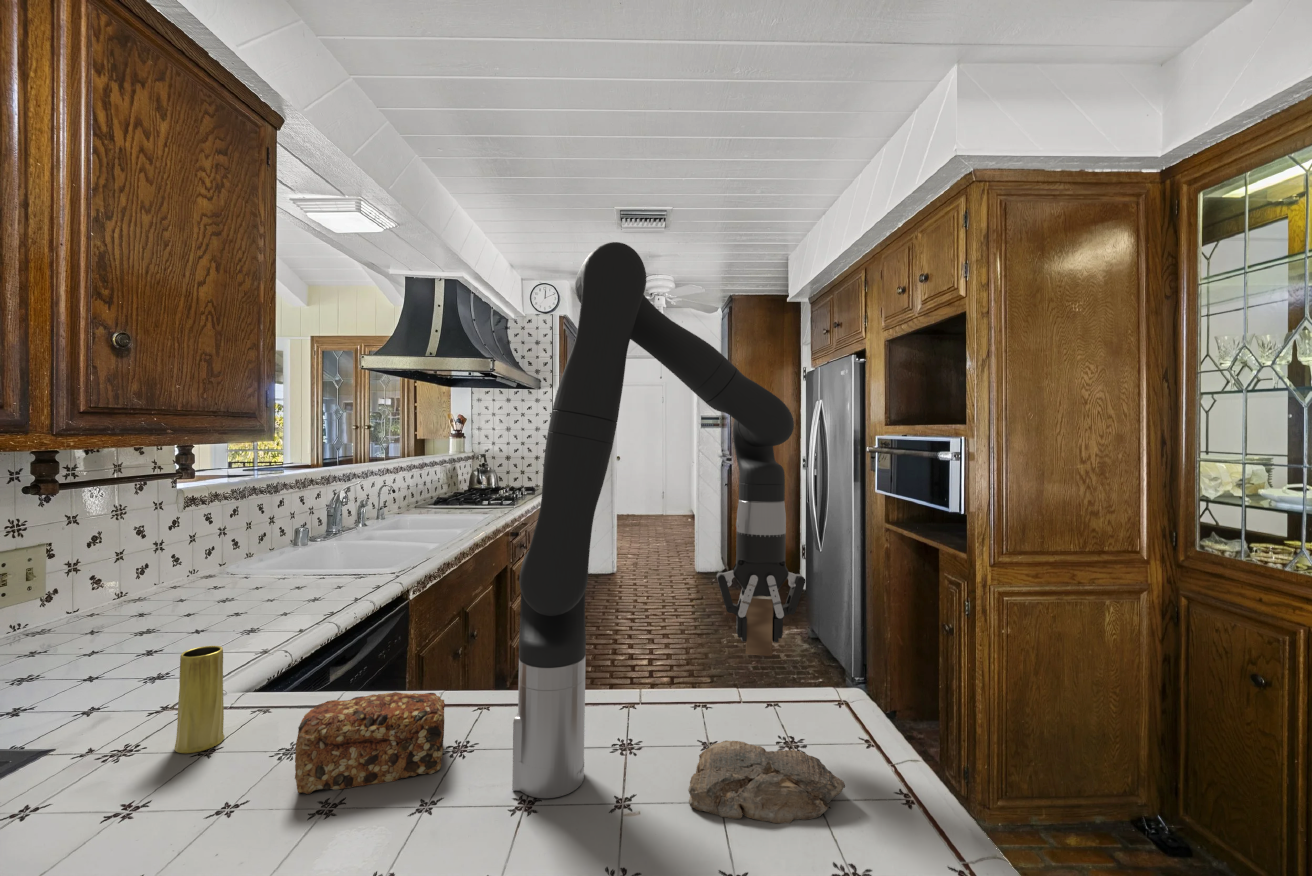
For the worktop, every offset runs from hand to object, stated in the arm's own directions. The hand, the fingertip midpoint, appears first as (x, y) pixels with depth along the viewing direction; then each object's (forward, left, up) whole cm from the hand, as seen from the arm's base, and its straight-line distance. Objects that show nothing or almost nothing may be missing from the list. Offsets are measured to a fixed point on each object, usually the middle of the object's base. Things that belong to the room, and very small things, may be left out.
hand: (759, 639), depth 91 cm
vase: (-86, -4, -17) cm, 88 cm away
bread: (-56, -8, -17) cm, 59 cm away
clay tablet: (0, -11, -18) cm, 21 cm away
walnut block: (0, +2, -2) cm, 3 cm away
